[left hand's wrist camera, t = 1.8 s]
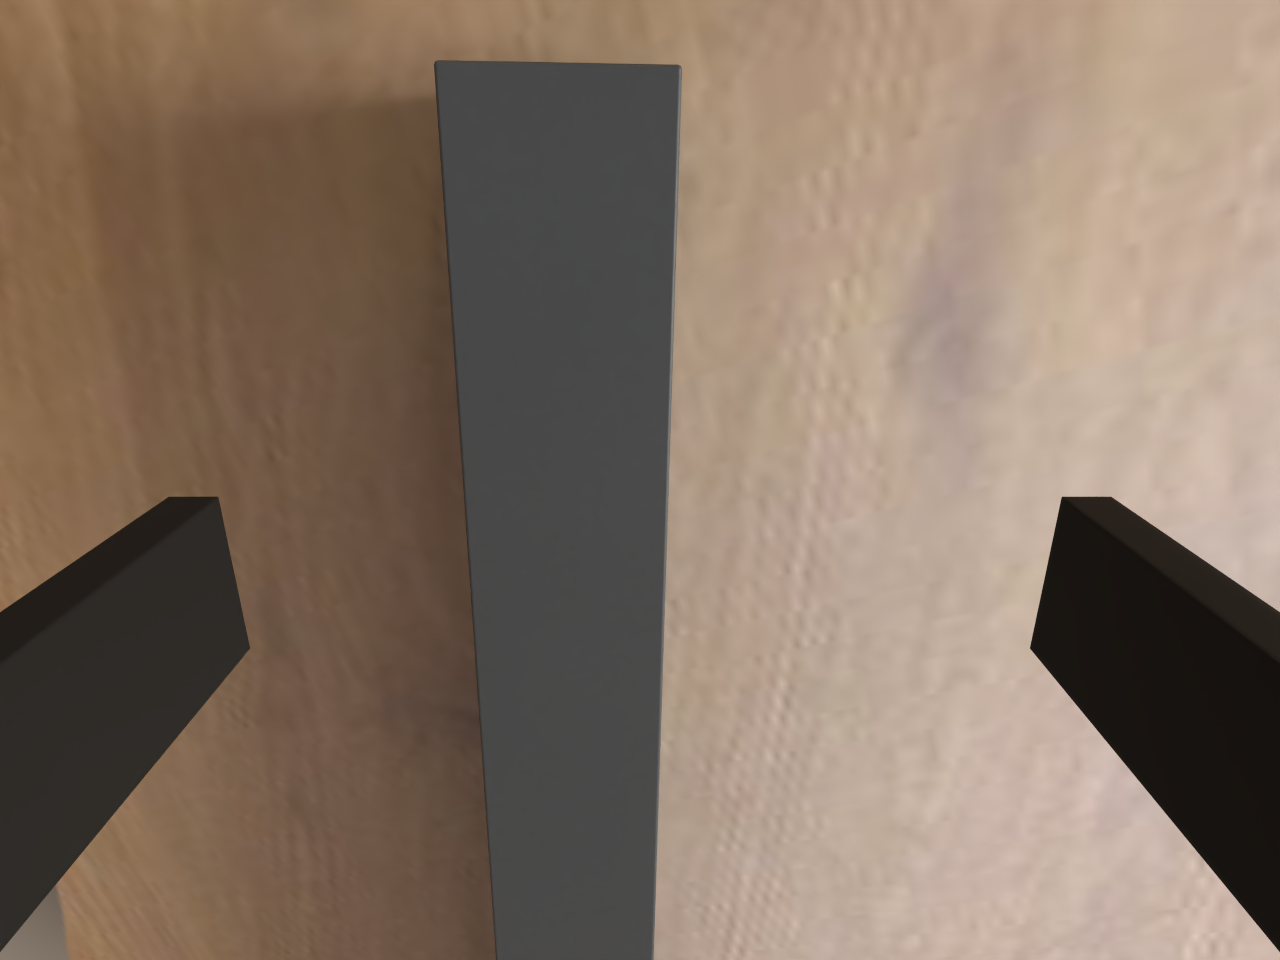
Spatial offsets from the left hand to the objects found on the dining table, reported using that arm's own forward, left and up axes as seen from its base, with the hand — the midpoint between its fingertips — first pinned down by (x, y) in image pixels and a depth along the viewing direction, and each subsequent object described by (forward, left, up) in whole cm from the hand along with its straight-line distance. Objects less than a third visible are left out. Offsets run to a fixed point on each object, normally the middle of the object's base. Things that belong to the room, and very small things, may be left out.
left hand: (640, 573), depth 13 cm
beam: (+21, +2, -16) cm, 27 cm away
